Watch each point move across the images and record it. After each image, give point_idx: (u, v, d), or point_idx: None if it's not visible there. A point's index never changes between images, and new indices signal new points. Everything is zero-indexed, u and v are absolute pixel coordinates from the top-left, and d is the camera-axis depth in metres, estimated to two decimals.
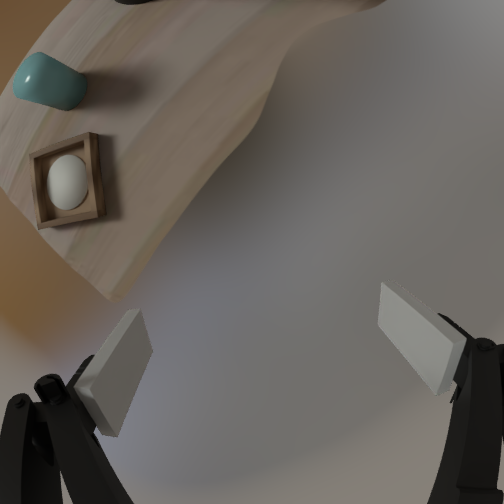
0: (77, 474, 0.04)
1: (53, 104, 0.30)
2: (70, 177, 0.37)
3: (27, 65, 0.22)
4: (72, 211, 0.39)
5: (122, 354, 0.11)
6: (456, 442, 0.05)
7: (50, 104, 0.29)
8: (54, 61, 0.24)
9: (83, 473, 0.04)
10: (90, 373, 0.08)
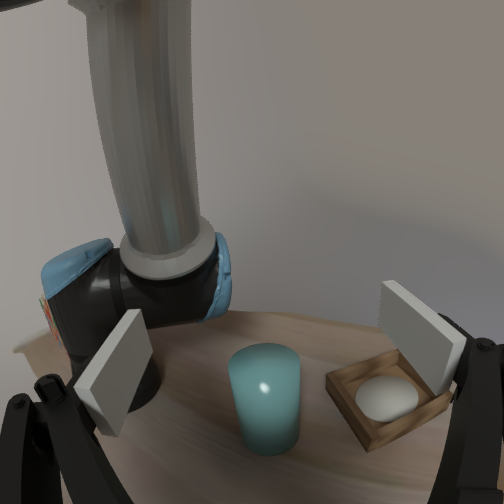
0: (77, 474, 0.04)
1: None
2: (380, 393, 0.32)
3: (245, 370, 0.25)
4: (413, 384, 0.32)
5: (122, 354, 0.11)
6: (456, 442, 0.05)
7: None
8: None
9: (83, 473, 0.04)
10: (90, 373, 0.08)
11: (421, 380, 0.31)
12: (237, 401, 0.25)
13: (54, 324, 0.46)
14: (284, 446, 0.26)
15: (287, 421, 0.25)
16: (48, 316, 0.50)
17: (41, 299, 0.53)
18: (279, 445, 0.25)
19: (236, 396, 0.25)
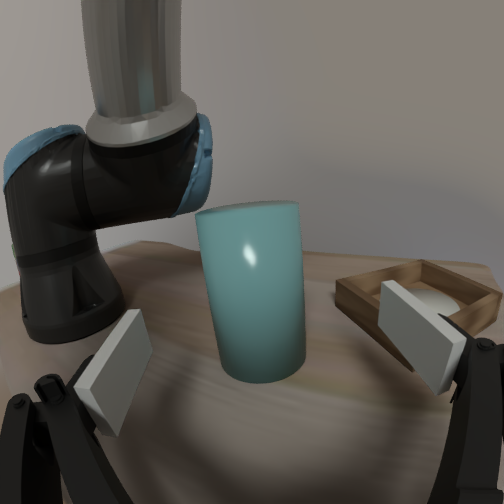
0: (77, 474, 0.04)
1: None
2: None
3: (219, 212, 0.18)
4: None
5: (122, 354, 0.11)
6: (456, 442, 0.05)
7: None
8: None
9: (83, 473, 0.04)
10: (90, 373, 0.08)
11: (456, 288, 0.24)
12: (207, 267, 0.18)
13: None
14: (285, 364, 0.19)
15: (287, 304, 0.18)
16: None
17: None
18: (277, 358, 0.18)
19: (205, 256, 0.18)
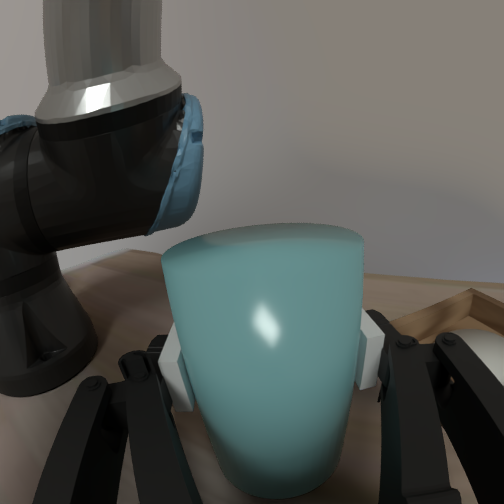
0: (148, 454, 0.05)
1: None
2: None
3: (208, 254, 0.09)
4: None
5: None
6: (392, 446, 0.06)
7: None
8: None
9: (155, 454, 0.05)
10: (171, 348, 0.10)
11: None
12: (188, 359, 0.09)
13: None
14: (317, 478, 0.10)
15: (333, 416, 0.09)
16: None
17: None
18: (306, 477, 0.09)
19: (183, 341, 0.09)
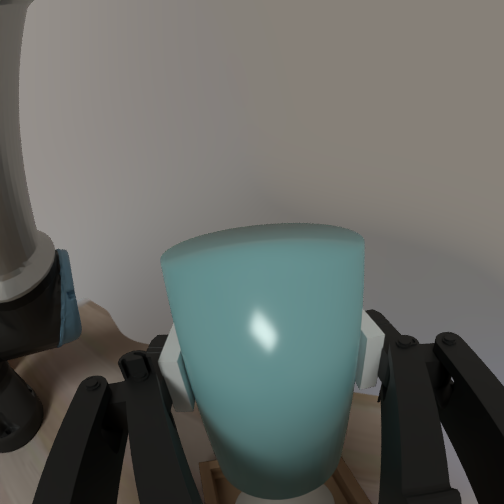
0: (148, 454, 0.05)
1: None
2: (274, 502, 0.18)
3: (208, 255, 0.09)
4: (334, 491, 0.18)
5: None
6: (392, 446, 0.06)
7: None
8: None
9: (155, 454, 0.05)
10: (171, 348, 0.10)
11: (345, 490, 0.17)
12: (187, 360, 0.09)
13: None
14: (317, 479, 0.10)
15: (333, 417, 0.09)
16: None
17: None
18: (306, 478, 0.09)
19: (182, 342, 0.09)
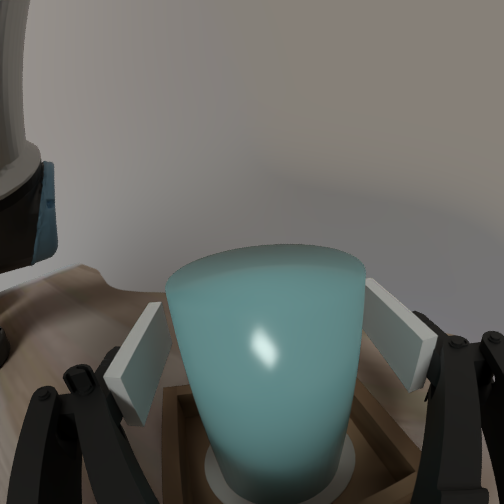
0: (101, 466, 0.05)
1: None
2: None
3: (212, 285, 0.09)
4: (351, 433, 0.15)
5: (147, 344, 0.11)
6: (434, 442, 0.05)
7: None
8: None
9: (108, 465, 0.05)
10: (119, 363, 0.09)
11: (368, 428, 0.13)
12: (193, 383, 0.09)
13: None
14: (315, 487, 0.10)
15: (331, 434, 0.09)
16: None
17: None
18: (305, 487, 0.09)
19: (188, 367, 0.09)
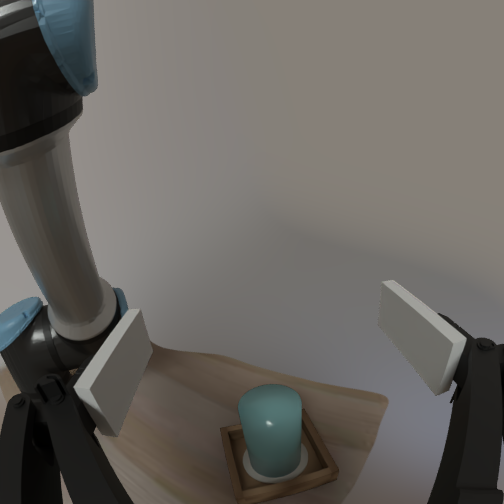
0: (77, 474, 0.04)
1: None
2: None
3: (254, 412, 0.27)
4: (308, 448, 0.32)
5: (122, 354, 0.11)
6: (456, 442, 0.05)
7: None
8: None
9: (83, 473, 0.04)
10: (90, 373, 0.08)
11: (314, 446, 0.31)
12: (247, 436, 0.27)
13: None
14: (288, 469, 0.28)
15: (291, 450, 0.27)
16: None
17: None
18: (284, 469, 0.27)
19: (246, 432, 0.27)
